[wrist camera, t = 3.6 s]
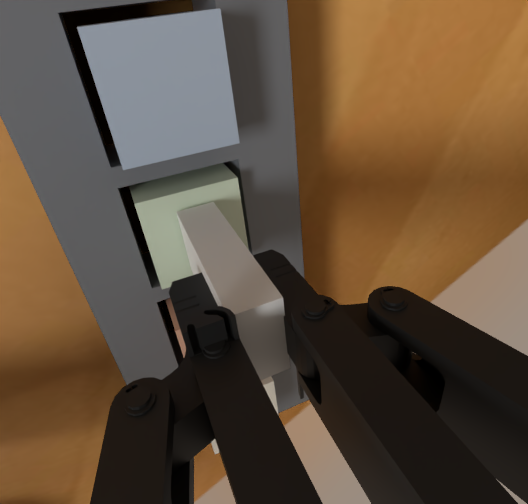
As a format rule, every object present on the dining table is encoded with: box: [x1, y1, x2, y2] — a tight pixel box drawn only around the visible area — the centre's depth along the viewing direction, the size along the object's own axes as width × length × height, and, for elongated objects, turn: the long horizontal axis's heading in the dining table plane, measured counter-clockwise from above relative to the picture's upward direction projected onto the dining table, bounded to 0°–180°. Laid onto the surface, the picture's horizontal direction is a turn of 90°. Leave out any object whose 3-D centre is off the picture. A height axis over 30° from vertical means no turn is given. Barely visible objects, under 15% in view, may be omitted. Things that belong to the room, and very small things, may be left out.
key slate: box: [77, 8, 240, 170], centre depth 13 cm, size 4×4×4 cm
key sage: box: [129, 163, 249, 289], centre depth 17 cm, size 4×4×4 cm
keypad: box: [0, 0, 309, 413], centre depth 19 cm, size 10×24×3 cm, turn 7°
